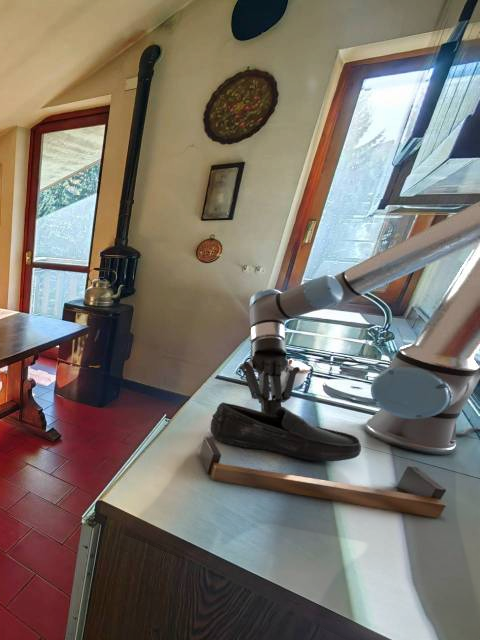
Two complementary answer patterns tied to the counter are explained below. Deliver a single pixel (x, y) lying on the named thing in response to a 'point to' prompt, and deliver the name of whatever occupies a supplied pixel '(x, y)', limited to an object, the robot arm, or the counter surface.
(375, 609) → the counter surface
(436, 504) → the wooden plank on wedges
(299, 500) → the counter surface
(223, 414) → the loafer
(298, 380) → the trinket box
